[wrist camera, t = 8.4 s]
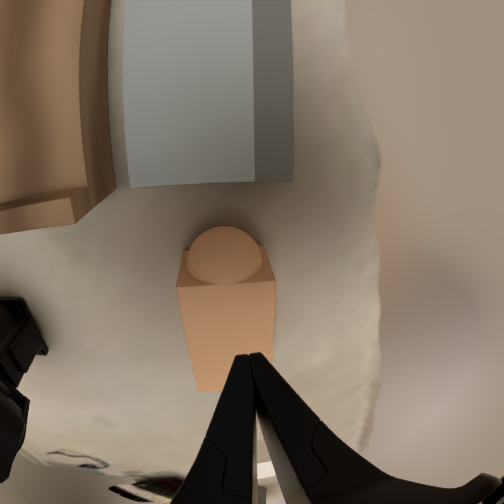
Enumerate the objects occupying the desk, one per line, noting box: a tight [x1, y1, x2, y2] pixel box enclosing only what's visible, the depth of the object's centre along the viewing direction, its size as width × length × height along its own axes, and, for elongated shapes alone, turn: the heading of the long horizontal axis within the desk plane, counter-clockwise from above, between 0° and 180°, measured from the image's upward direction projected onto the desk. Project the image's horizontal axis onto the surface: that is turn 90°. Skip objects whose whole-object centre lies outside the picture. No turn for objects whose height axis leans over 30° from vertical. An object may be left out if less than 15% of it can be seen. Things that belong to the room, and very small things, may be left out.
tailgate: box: [122, 0, 293, 188], centre depth 12 cm, size 1×18×9 cm
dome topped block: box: [176, 226, 276, 392], centre depth 19 cm, size 5×13×4 cm, turn 1°
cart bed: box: [0, 0, 116, 234], centre depth 9 cm, size 8×18×7 cm, turn 1°
